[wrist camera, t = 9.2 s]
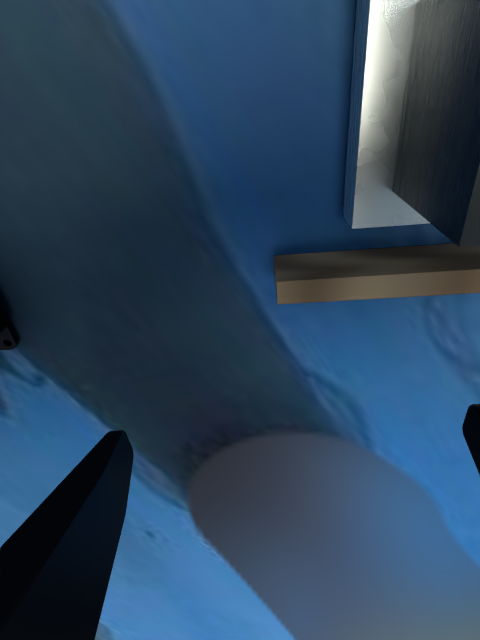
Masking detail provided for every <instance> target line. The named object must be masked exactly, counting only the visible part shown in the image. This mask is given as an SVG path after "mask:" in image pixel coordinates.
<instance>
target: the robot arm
mask: <svg viewBox="0 0 480 640" xmlns="http://www.w3.org/2000/svg"><path fill="white" fill-rule="evenodd" d="M8 340H9V341H10V342H9V341H8ZM18 344H19V338H18V336H17V334H16V332H15V330H14V328H13V326H12V324H11V322H10V320H9V318H8V316H7V314H6V312H5V310H4V308H3V306H2V304H1V303H0V350H11V349H14V348H15V347H16V346H17V345H18ZM462 430H463V435H464V438H465V440H466V442H467V445H468V447H469V450H470V452H471V455H472V457H473V460H474V462H475V465H476V467H477V470H478V472H479V475H480V404H472V405H470V406H469V407H468V410H467V413H466V416H465V420H464V423H463V428H462ZM132 465H133V449H132V446H131V444H130V441H129V439H128V437H127V434H126V432H125V431H123V430H119V431H110V432H108V433H107V434H106V435H105V436H104V437H103V438H102V439H101V440H100V441H99V442H98V443H97V444H96V445H95V447H94V448H93V449H92V450H91V451H90V452H89V453H88V454H87V455H86V456H85V457H84V458H83V459H82V461H81V462H80V463H79V464H78V465H77V466H76V467H75V468H74V469H73V470H72V471H71V472H70V473H69V474H68V476H67V477H66V478H65V479H64V480H63V481H62V482H61V483H60V484H59V485H58V486H57V487H56V488H55V489H54V491H53V492H52V493H51V494H50V495H49V496H48V497H47V498H46V499H45V500H44V501H43V502H42V503H41V504H40V506H39V507H38V508H37V509H36V510H35V511H34V512H33V513H32V514H31V515H30V516H29V517H28V518H27V520H26V521H25V522H24V523H23V524H22V525H21V526H20V527H19V528H18V529H17V530H16V531H15V532H14V533H13V535H12V536H11V537H10V538H9V539H8V540H7V541H6V542H5V543H4V544H3V545H2V546H1V548H0V640H95V636H96V632H97V628H98V624H99V620H100V616H101V612H102V607H103V603H104V599H105V595H106V591H107V587H108V583H109V579H110V575H111V571H112V567H113V563H114V559H115V555H116V551H117V547H118V543H119V539H120V535H121V531H122V527H123V523H124V518H125V514H126V508H127V501H128V494H129V486H130V479H131V472H132Z"/></svg>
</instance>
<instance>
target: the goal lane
mask: <svg viewBox="0 0 480 640" xmlns="http://www.w3.org/2000/svg"><path fill="white" fill-rule="evenodd" d="M274 275H275V285H276V295H277V304H293V303H310V302H327V301H345V300H362V299H379V298H396V297H414V296H431V295H448V294H465V293H480V245H478V246H463V247H459V246H457V245H456V244H455V243H452V244H437V245H422V246H407V247H392V248H377V249H363V250H348V251H333V252H318V253H303V254H288V255H274Z"/></svg>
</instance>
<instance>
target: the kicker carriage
mask: <svg viewBox="0 0 480 640" xmlns="http://www.w3.org/2000/svg"><path fill="white" fill-rule="evenodd" d="M343 216H344V217H345V219H346V220H347V222H348V223H349V225H350V227H351V228H352V229H358V228H372V227H386V226H400V225H414V224H428V223H431V224H432V225H433V226H435V227H436V228H437V229H438V230H439V231H441V232H442V233H443V234H444V235H445V236H447V237H448V238H449V239H450V240H451V241H453V242H454V243H455V244H456V245H457V246H459V247H463V246H478V245H480V0H357V6H356V21H355V37H354V52H353V67H352V83H351V98H350V113H349V129H348V144H347V159H346V175H345V190H344V205H343Z"/></svg>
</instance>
